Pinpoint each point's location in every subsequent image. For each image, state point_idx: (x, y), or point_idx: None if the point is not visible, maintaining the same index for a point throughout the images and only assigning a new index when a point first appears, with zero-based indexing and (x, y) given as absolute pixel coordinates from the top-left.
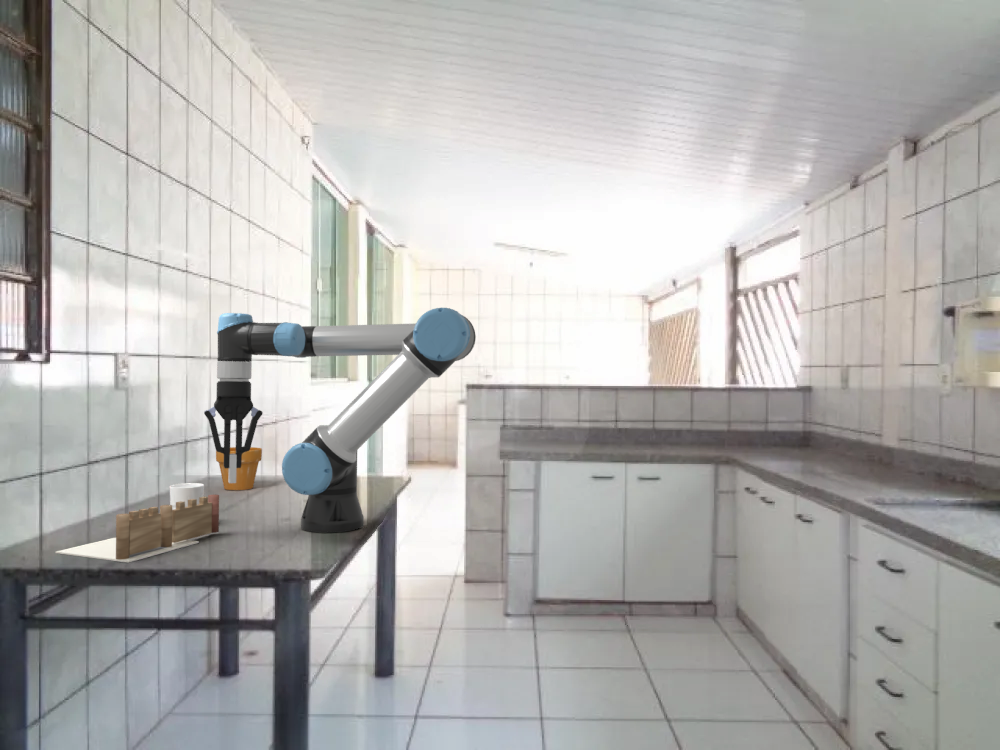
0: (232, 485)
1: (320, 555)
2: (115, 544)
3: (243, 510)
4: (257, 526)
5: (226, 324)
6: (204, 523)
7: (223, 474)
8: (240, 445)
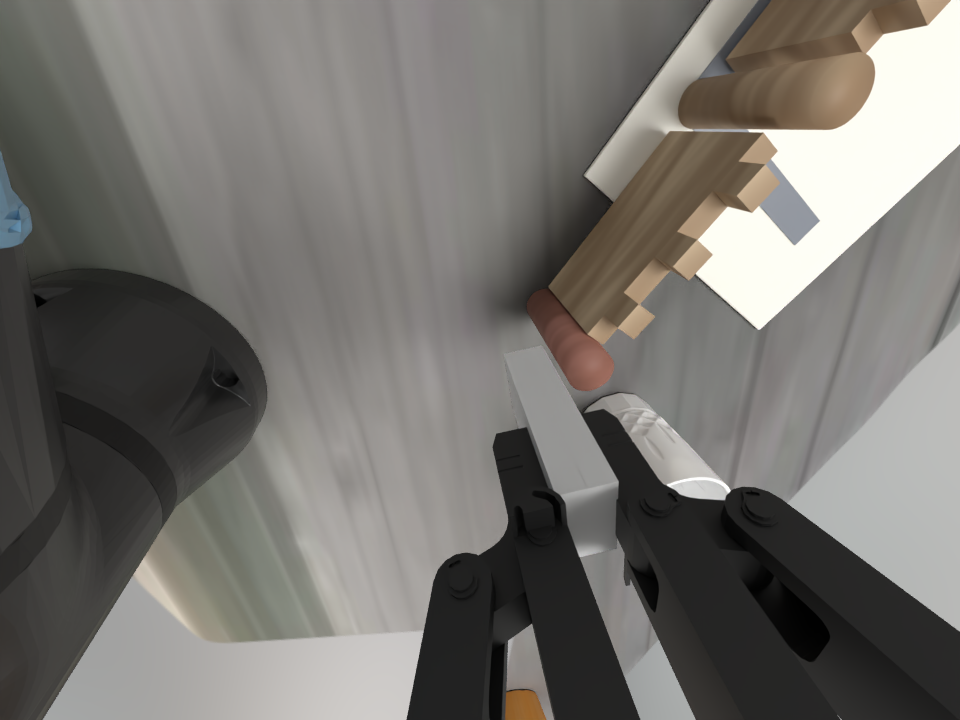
0: (523, 700)
1: None
2: (831, 179)
3: None
4: (418, 403)
5: None
6: (585, 270)
7: None
8: (547, 605)
